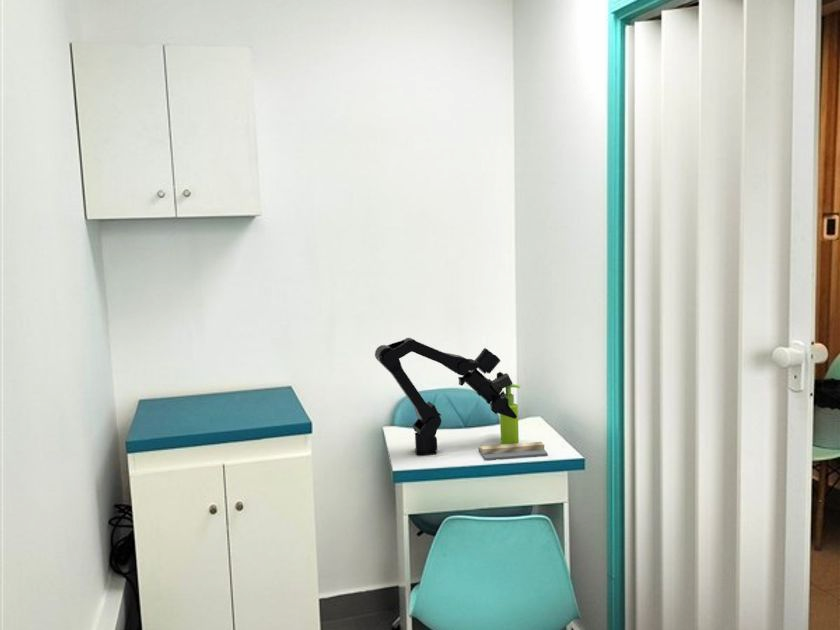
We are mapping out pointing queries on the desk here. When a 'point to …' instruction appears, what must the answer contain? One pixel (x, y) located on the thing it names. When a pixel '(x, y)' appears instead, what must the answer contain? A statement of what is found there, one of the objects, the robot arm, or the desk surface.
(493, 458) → the base board
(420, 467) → the desk surface
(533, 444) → the ridge
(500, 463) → the desk surface
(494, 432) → the desk surface
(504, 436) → the soap dispenser
